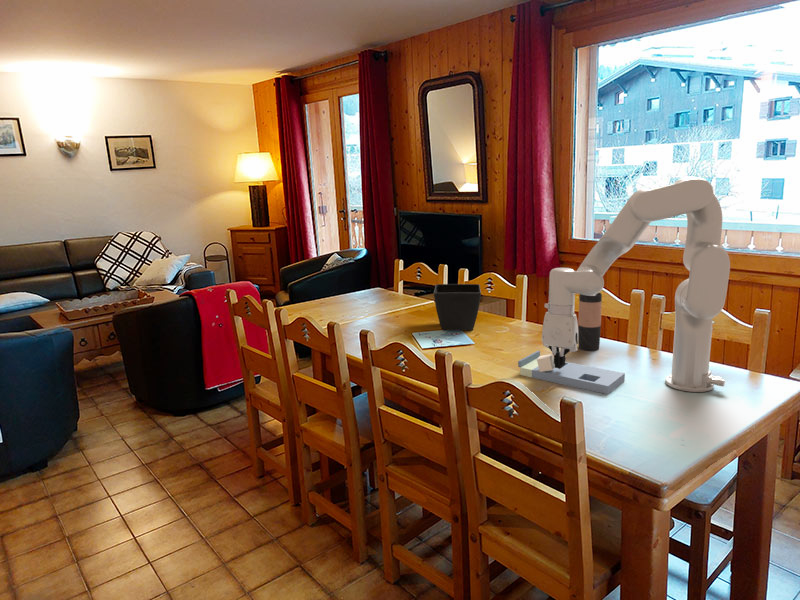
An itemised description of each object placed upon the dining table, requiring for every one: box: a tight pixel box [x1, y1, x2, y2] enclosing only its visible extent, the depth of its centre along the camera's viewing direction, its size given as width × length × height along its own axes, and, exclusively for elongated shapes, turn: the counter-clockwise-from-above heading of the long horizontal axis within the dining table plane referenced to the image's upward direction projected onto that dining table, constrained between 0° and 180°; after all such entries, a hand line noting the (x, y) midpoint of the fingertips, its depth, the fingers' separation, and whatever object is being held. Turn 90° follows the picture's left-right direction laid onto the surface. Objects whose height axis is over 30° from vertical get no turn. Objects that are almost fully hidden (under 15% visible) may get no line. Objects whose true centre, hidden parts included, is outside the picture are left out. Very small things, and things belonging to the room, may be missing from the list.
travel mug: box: [577, 292, 603, 352], centre depth 202 cm, size 8×8×20 cm
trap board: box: [517, 350, 626, 395], centre depth 175 cm, size 29×13×4 cm, turn 49°
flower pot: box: [433, 283, 482, 331], centre depth 237 cm, size 19×19×17 cm
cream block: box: [537, 353, 555, 372], centre depth 175 cm, size 4×4×4 cm
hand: (559, 367), depth 174 cm, fingers closed
